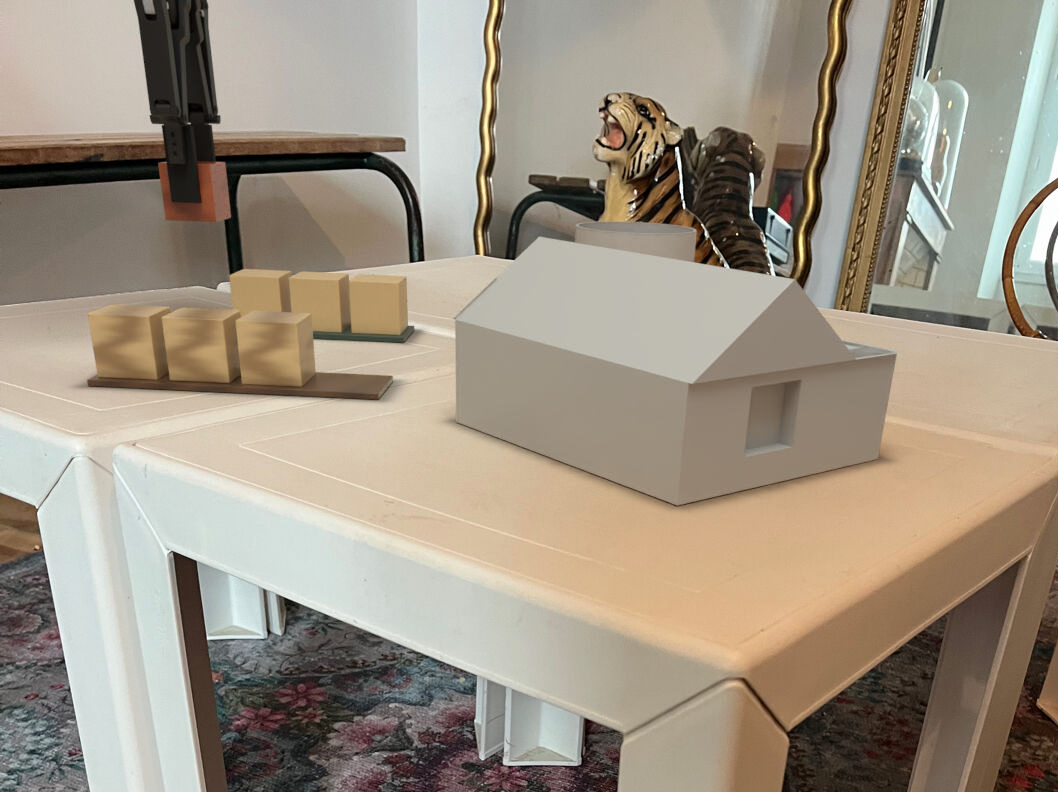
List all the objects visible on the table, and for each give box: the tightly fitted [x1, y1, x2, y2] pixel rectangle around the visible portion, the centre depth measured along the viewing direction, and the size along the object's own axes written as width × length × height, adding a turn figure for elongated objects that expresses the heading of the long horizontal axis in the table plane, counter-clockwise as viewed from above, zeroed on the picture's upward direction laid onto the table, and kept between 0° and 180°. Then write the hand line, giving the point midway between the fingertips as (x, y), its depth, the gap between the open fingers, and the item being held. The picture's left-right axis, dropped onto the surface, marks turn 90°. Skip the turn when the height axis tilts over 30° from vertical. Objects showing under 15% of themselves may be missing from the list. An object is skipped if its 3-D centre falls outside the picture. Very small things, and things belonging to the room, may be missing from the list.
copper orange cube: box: [157, 161, 232, 223], centre depth 110 cm, size 5×5×5 cm
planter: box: [574, 220, 698, 263], centre depth 121 cm, size 13×13×10 cm
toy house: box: [452, 236, 905, 506], centre depth 81 cm, size 25×21×13 cm
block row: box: [228, 268, 415, 344], centre depth 115 cm, size 24×7×6 cm, turn 88°
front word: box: [86, 303, 394, 400], centre depth 94 cm, size 24×7×6 cm, turn 88°
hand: (196, 199), depth 111 cm, fingers closed on copper orange cube, 5 cm apart
